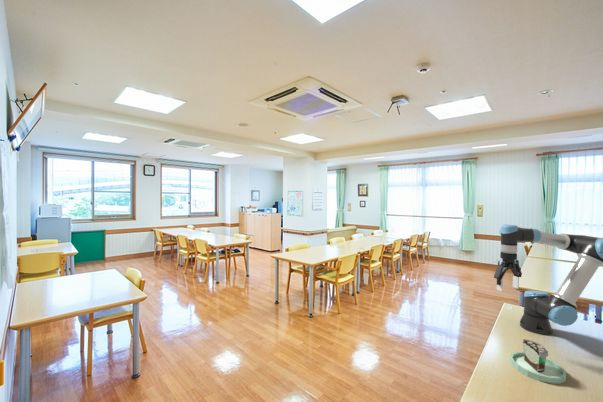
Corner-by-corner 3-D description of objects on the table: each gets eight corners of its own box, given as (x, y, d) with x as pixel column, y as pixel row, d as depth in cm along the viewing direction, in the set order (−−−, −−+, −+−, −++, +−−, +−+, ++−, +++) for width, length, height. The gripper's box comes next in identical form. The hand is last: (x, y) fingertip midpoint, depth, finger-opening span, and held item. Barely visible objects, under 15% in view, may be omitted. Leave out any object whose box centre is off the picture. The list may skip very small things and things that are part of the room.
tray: (526, 353, 143) (526, 348, 143) (576, 377, 124) (576, 371, 124) (500, 361, 136) (500, 356, 136) (549, 388, 117) (549, 382, 117)
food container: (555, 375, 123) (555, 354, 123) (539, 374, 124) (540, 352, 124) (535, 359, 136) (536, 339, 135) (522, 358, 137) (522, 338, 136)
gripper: (515, 249, 163) (515, 284, 164) (486, 252, 155) (486, 289, 155) (530, 251, 156) (529, 288, 157) (500, 255, 148) (499, 294, 148)
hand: (507, 289), depth 156 cm, fingers open, 13 cm apart
